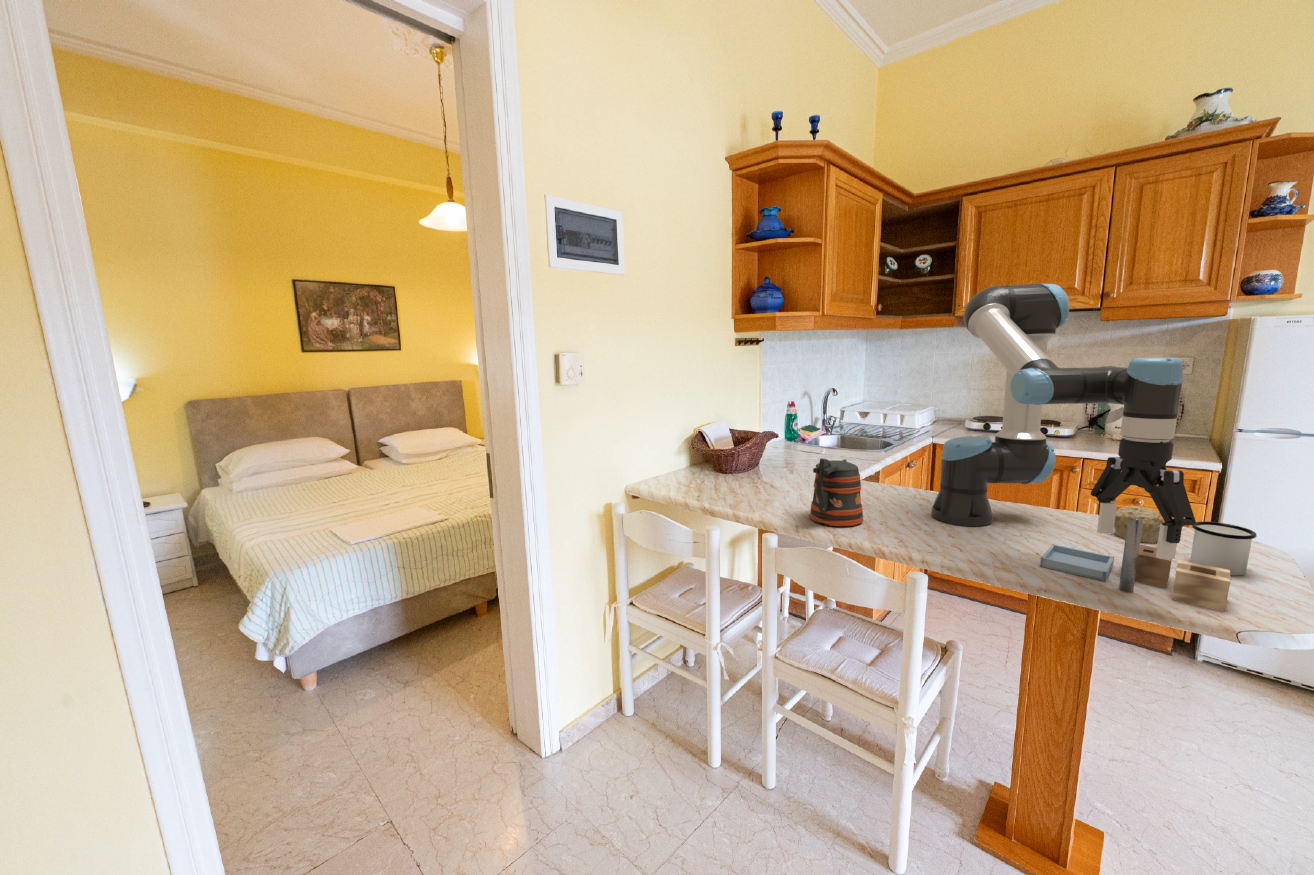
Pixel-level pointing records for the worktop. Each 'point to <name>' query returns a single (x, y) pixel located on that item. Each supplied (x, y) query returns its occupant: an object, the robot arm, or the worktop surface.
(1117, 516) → the coral
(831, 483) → the beer stein
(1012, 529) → the worktop surface
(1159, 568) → the walnut block
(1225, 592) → the oak block
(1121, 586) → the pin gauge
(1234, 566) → the mug
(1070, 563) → the tray
